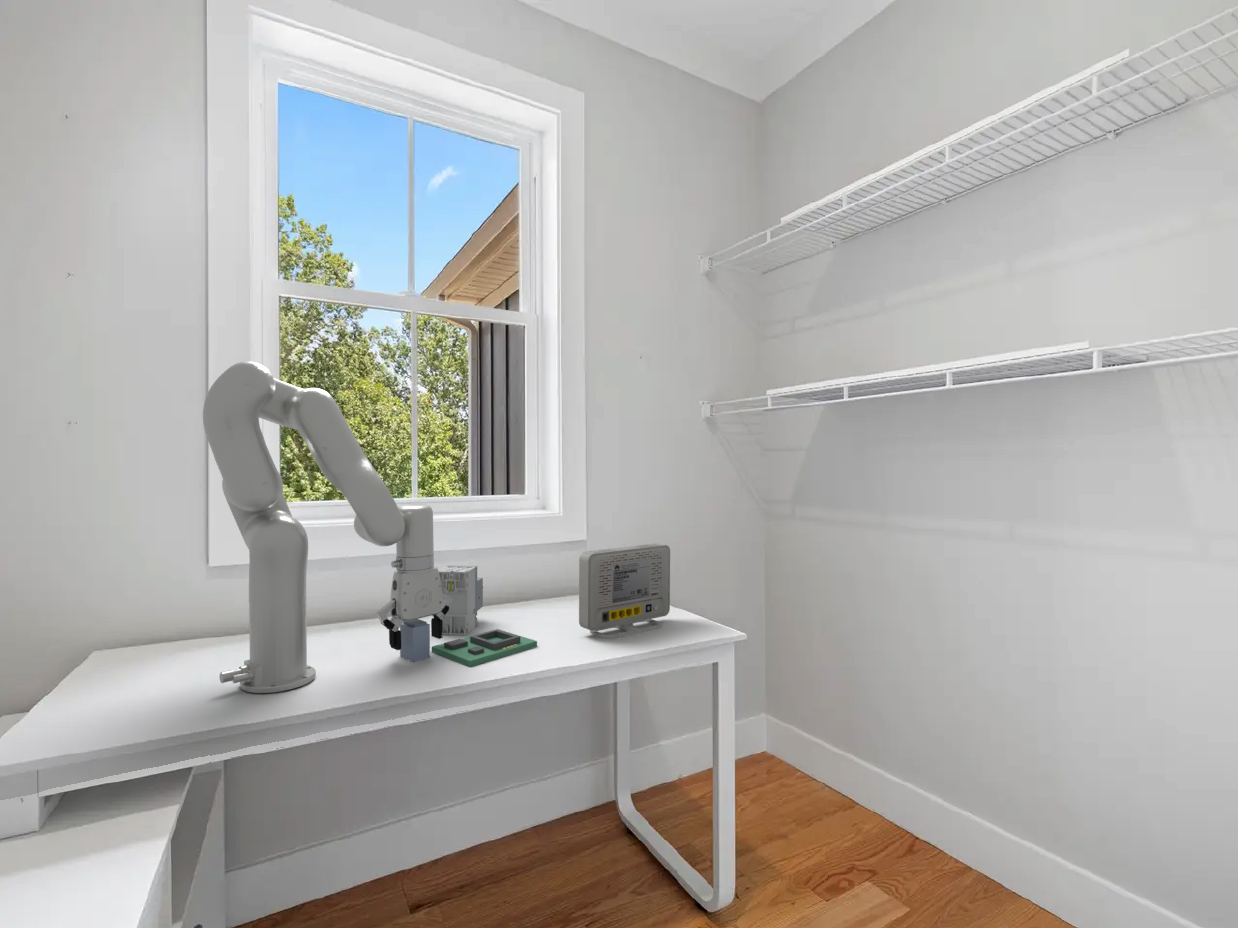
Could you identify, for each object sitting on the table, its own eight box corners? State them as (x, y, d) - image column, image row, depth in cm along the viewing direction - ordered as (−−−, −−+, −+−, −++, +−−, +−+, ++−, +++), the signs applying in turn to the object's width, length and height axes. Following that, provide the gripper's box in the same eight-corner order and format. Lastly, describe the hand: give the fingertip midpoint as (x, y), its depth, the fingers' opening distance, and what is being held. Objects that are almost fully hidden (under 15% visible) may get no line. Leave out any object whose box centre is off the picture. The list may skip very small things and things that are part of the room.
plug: (412, 661, 131) (412, 625, 131) (399, 656, 135) (399, 620, 135) (429, 656, 134) (429, 621, 134) (416, 651, 138) (416, 617, 138)
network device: (654, 617, 167) (655, 541, 167) (676, 624, 160) (677, 545, 160) (573, 633, 152) (573, 550, 151) (594, 642, 145) (595, 555, 144)
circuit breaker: (484, 619, 164) (484, 561, 164) (466, 635, 150) (466, 572, 150) (456, 618, 165) (456, 561, 165) (435, 634, 151) (435, 571, 150)
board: (470, 666, 128) (470, 654, 128) (431, 651, 138) (431, 640, 137) (537, 646, 142) (537, 634, 142) (497, 633, 151) (497, 623, 151)
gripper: (386, 571, 125) (388, 657, 126) (460, 559, 138) (461, 636, 139) (367, 567, 130) (369, 649, 131) (440, 555, 143) (442, 630, 144)
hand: (416, 642), depth 135 cm, fingers open, 9 cm apart
